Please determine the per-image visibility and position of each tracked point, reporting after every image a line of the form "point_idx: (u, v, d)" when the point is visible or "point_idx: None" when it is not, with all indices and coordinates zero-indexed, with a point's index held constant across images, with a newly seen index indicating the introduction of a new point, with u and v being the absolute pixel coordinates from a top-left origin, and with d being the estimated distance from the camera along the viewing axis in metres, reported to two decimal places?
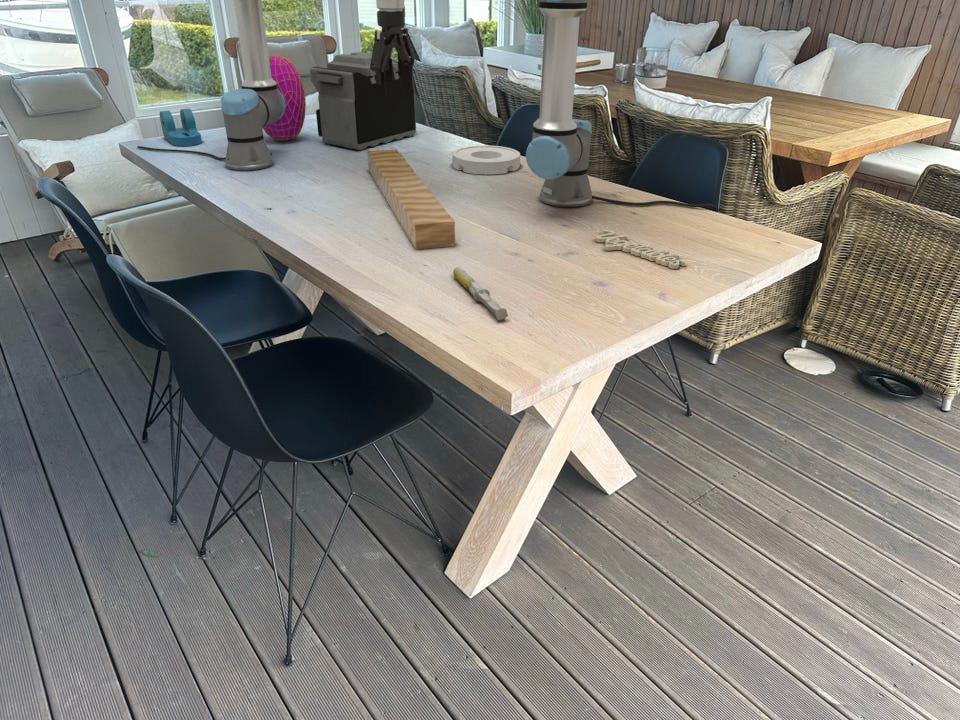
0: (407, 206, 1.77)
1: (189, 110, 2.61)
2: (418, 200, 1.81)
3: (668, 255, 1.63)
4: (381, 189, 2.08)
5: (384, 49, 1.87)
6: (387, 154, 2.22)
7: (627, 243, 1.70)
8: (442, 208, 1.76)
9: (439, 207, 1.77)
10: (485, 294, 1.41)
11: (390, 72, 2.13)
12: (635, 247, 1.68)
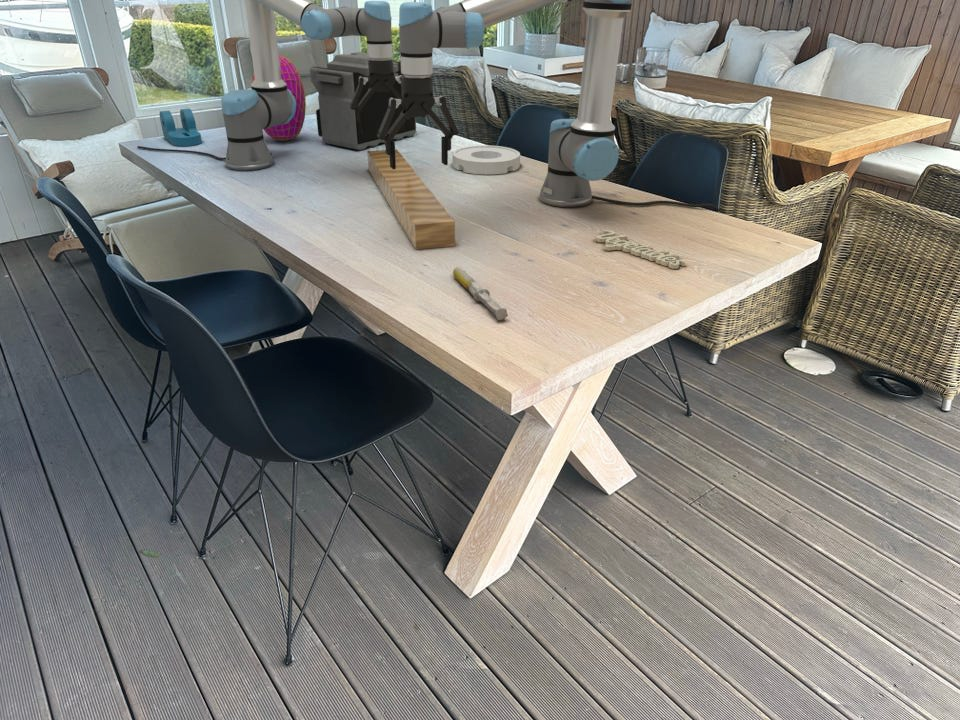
0: (407, 206, 1.77)
1: (189, 110, 2.61)
2: (418, 200, 1.81)
3: (668, 255, 1.63)
4: (381, 189, 2.08)
5: (400, 118, 1.65)
6: None
7: (627, 243, 1.70)
8: (442, 208, 1.76)
9: (439, 207, 1.77)
10: (485, 294, 1.41)
11: None
12: (635, 247, 1.68)
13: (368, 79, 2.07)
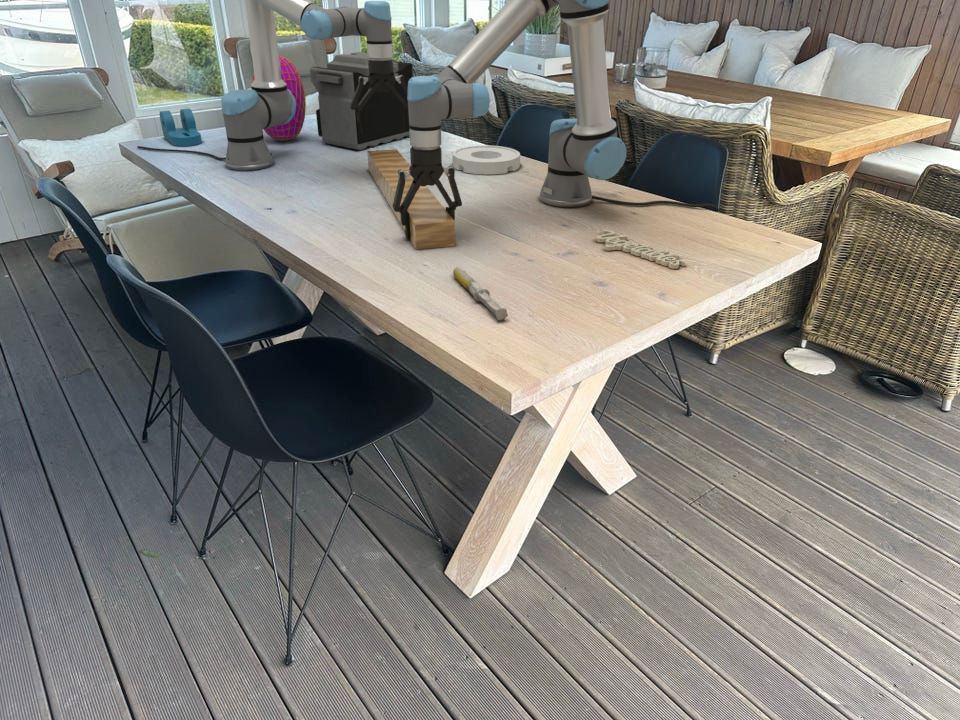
0: None
1: (189, 110, 2.61)
2: (418, 200, 1.81)
3: (668, 255, 1.63)
4: (381, 189, 2.08)
5: (411, 188, 1.68)
6: (387, 154, 2.22)
7: (627, 243, 1.70)
8: (442, 208, 1.76)
9: (439, 207, 1.77)
10: (485, 294, 1.41)
11: None
12: (635, 247, 1.68)
13: (368, 79, 2.07)
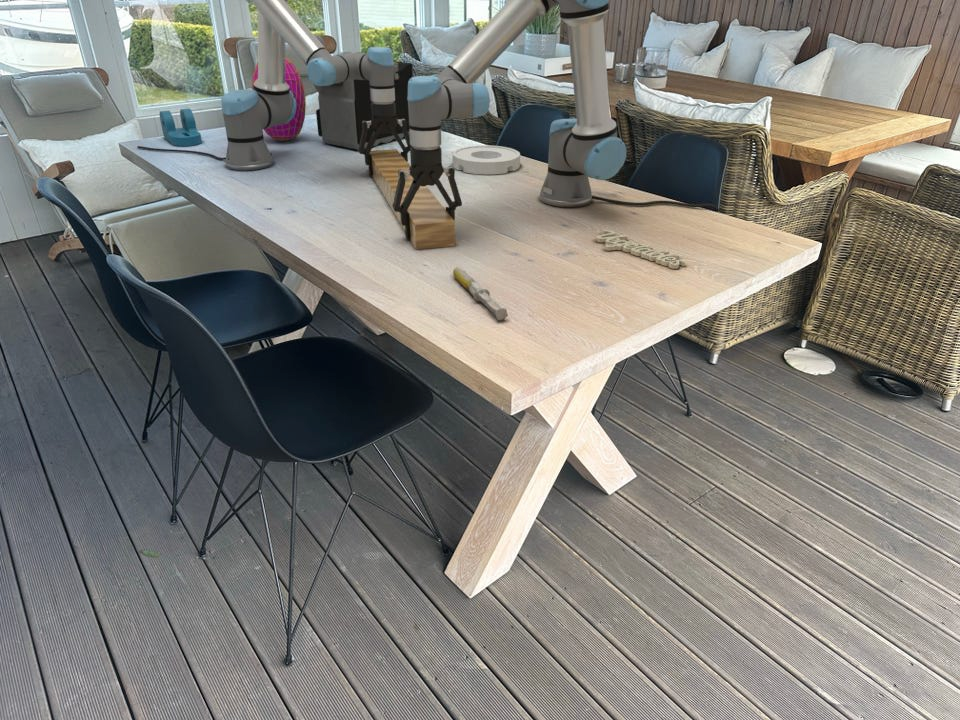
0: None
1: (189, 110, 2.61)
2: (418, 200, 1.81)
3: (668, 255, 1.63)
4: (381, 189, 2.08)
5: (411, 188, 1.68)
6: (387, 154, 2.22)
7: (627, 243, 1.70)
8: (442, 208, 1.76)
9: (439, 207, 1.77)
10: (485, 294, 1.41)
11: None
12: (635, 247, 1.68)
13: (371, 122, 2.14)
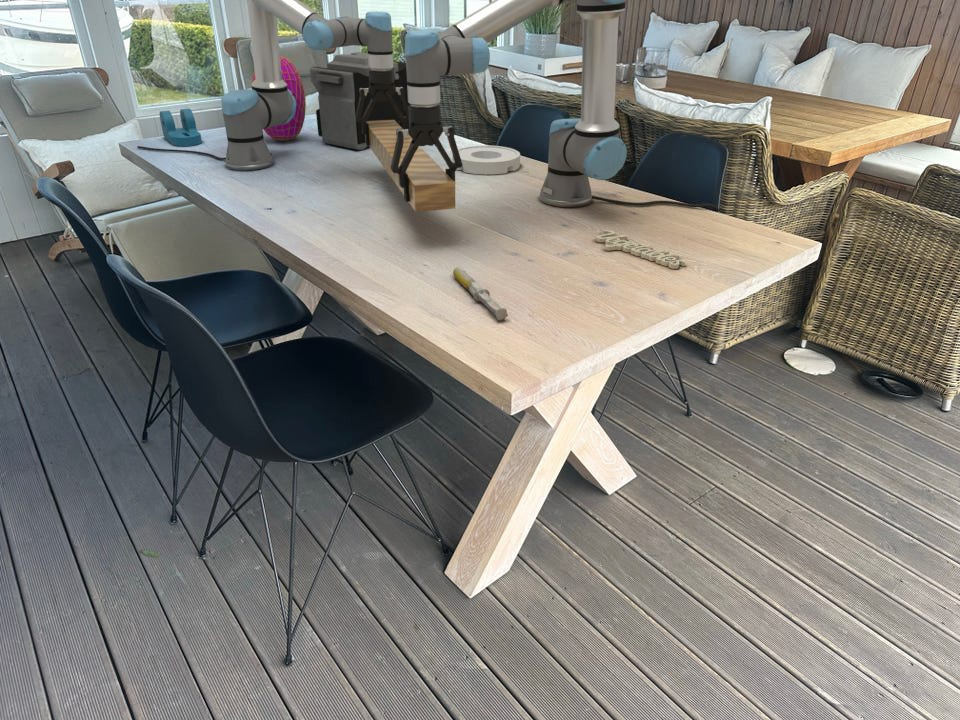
0: None
1: (189, 110, 2.61)
2: (417, 164, 1.77)
3: (668, 255, 1.63)
4: (378, 157, 2.03)
5: (409, 149, 1.63)
6: (384, 124, 2.18)
7: (627, 243, 1.70)
8: (442, 171, 1.71)
9: (439, 170, 1.72)
10: (485, 294, 1.41)
11: None
12: (635, 247, 1.68)
13: (368, 89, 2.09)
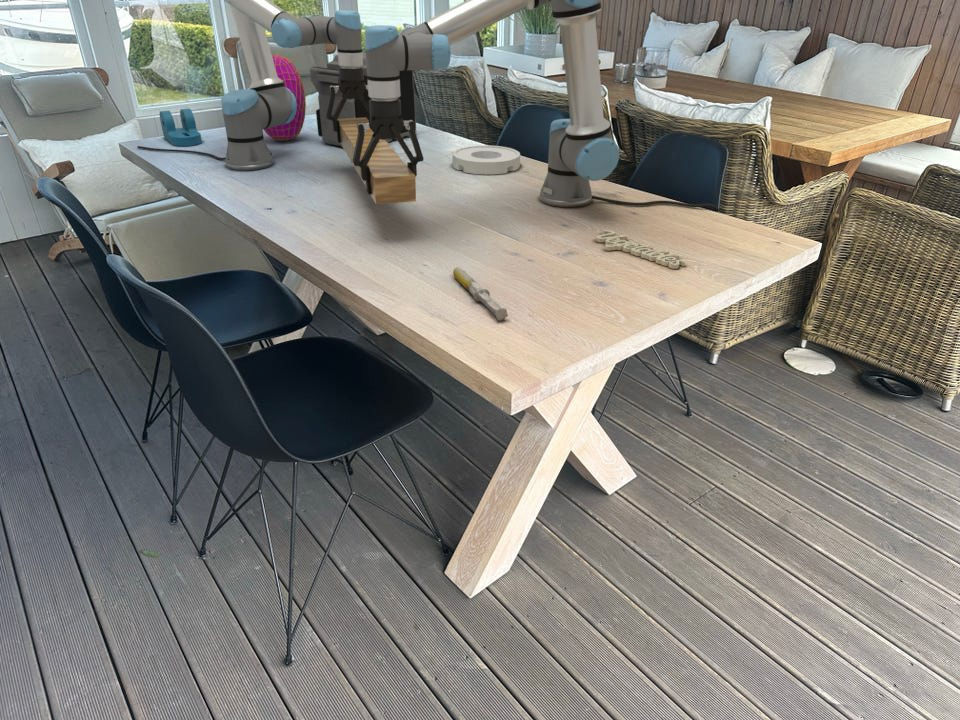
0: (369, 163, 1.75)
1: (189, 110, 2.61)
2: (381, 158, 1.79)
3: (668, 255, 1.63)
4: (348, 153, 2.06)
5: (371, 142, 1.66)
6: (356, 121, 2.21)
7: (627, 243, 1.70)
8: (404, 165, 1.74)
9: (402, 163, 1.75)
10: (485, 294, 1.41)
11: None
12: (635, 247, 1.68)
13: (339, 87, 2.12)
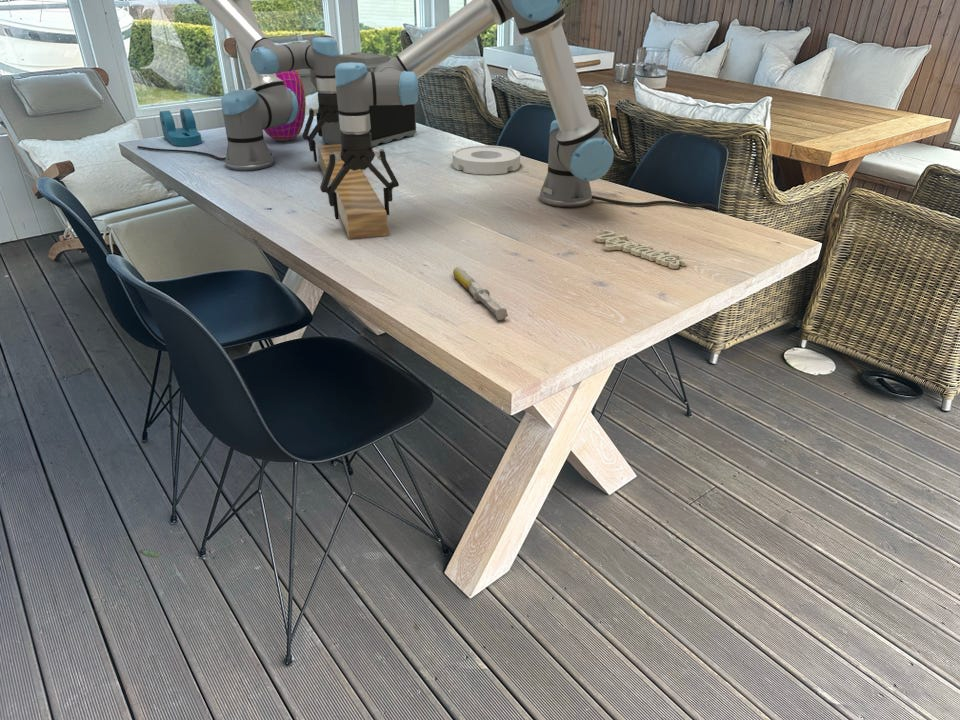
0: (343, 197, 1.82)
1: (189, 110, 2.61)
2: (356, 191, 1.87)
3: (668, 255, 1.63)
4: None
5: (340, 171, 1.72)
6: (336, 148, 2.28)
7: (627, 243, 1.70)
8: (377, 199, 1.81)
9: (375, 198, 1.82)
10: (485, 294, 1.41)
11: None
12: (635, 247, 1.68)
13: (318, 111, 2.18)
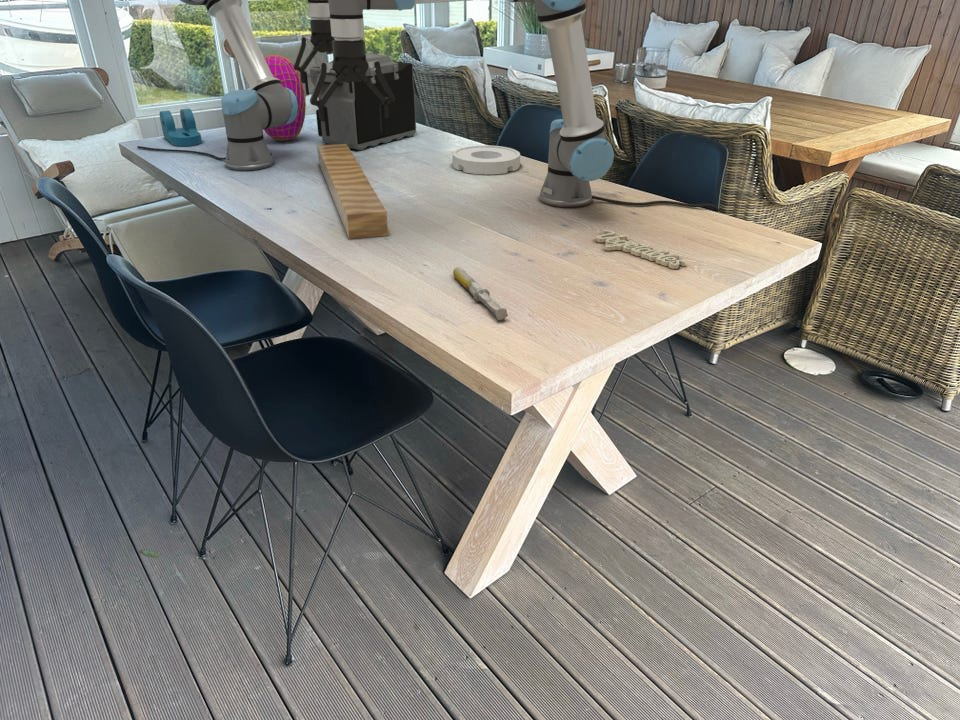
0: (343, 197, 1.82)
1: (189, 110, 2.61)
2: (356, 191, 1.87)
3: (668, 255, 1.63)
4: (327, 182, 2.13)
5: (332, 82, 1.62)
6: (336, 148, 2.28)
7: (627, 243, 1.70)
8: (377, 199, 1.81)
9: (375, 198, 1.82)
10: (485, 294, 1.41)
11: None
12: (635, 247, 1.68)
13: (310, 39, 2.08)
